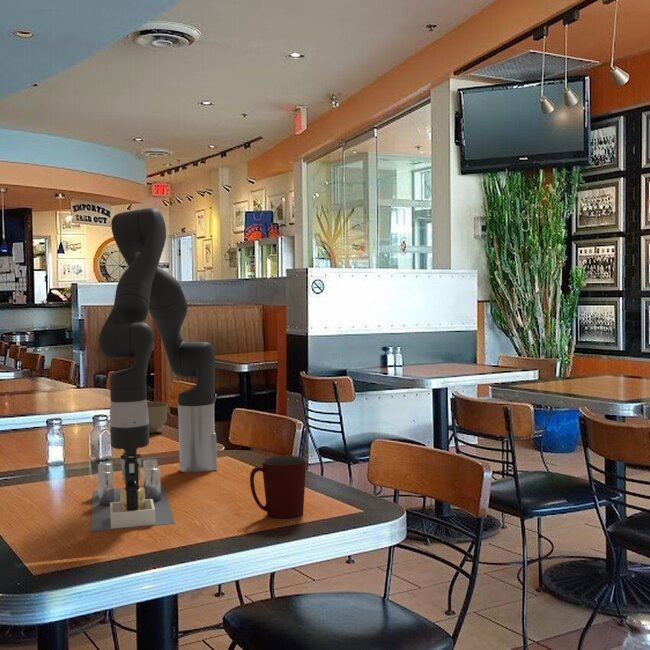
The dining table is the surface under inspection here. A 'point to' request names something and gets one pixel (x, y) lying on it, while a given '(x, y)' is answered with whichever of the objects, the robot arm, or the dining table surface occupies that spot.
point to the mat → (102, 513)
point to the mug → (282, 486)
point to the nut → (140, 499)
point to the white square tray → (132, 515)
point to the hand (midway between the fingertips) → (132, 506)
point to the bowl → (156, 415)
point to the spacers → (150, 482)
